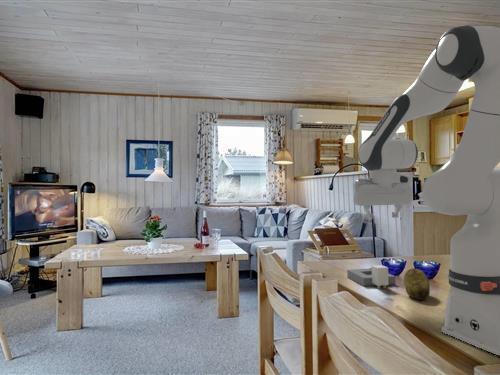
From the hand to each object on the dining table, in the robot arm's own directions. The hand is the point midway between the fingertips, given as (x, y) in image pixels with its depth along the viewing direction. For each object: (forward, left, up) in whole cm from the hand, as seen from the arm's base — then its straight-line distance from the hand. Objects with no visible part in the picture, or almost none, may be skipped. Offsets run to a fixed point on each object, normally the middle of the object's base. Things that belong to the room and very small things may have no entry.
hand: (382, 217), depth 130 cm
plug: (+1, +1, -24) cm, 24 cm away
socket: (+10, 0, -24) cm, 26 cm away
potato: (-11, -5, -25) cm, 27 cm away
